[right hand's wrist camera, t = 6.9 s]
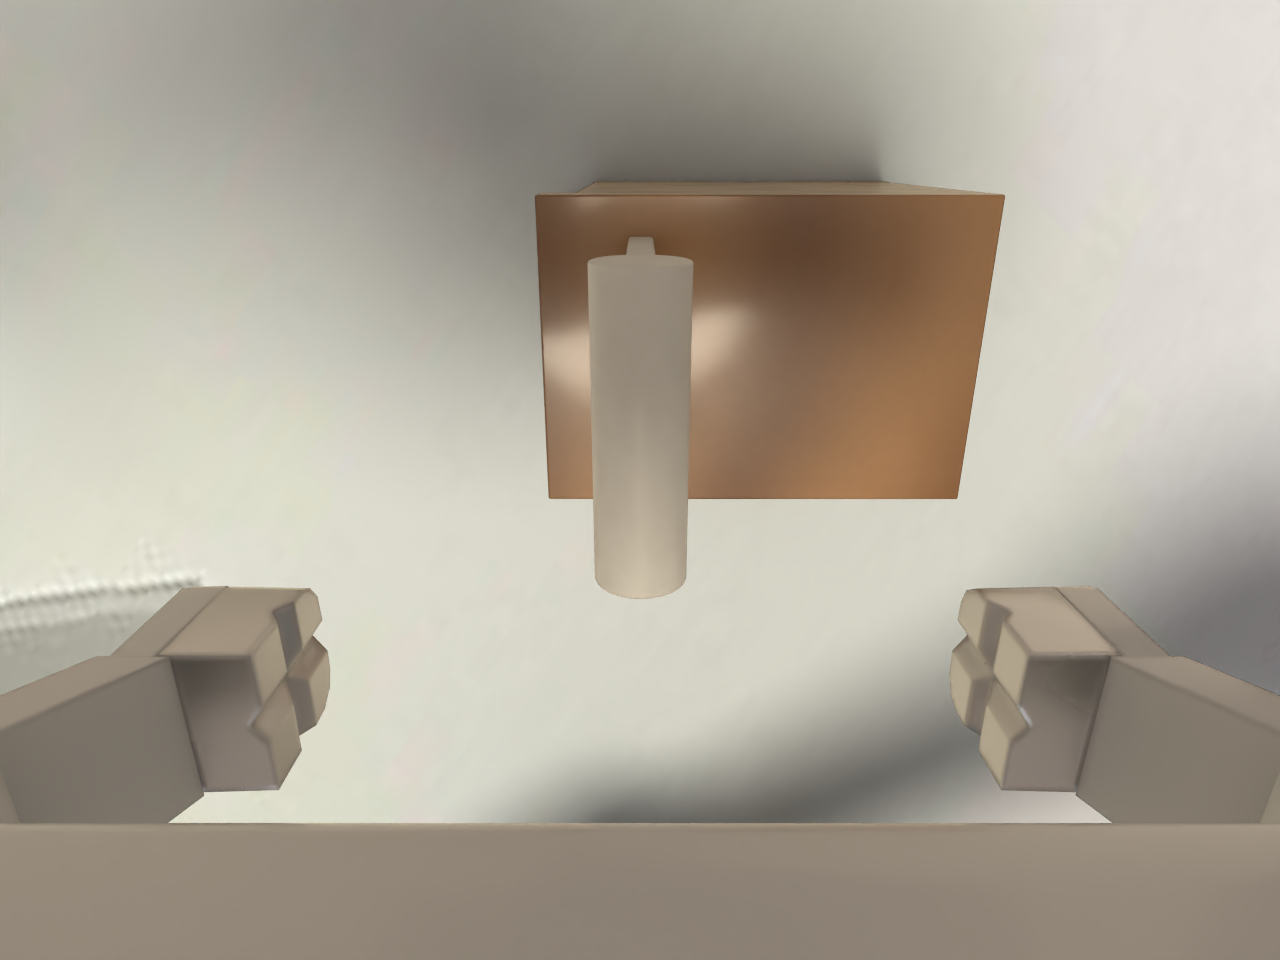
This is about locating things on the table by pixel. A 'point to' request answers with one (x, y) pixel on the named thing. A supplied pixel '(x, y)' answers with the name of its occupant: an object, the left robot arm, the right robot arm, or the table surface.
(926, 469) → the lid
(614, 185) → the chest
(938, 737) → the table surface
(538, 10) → the table surface
